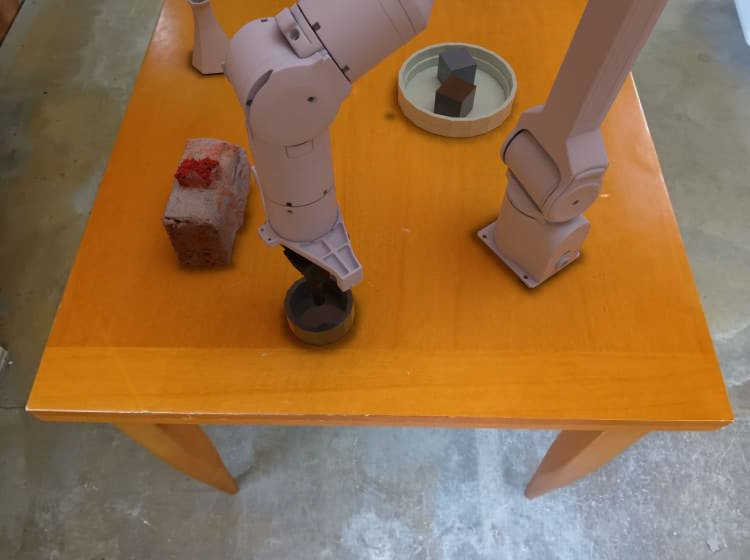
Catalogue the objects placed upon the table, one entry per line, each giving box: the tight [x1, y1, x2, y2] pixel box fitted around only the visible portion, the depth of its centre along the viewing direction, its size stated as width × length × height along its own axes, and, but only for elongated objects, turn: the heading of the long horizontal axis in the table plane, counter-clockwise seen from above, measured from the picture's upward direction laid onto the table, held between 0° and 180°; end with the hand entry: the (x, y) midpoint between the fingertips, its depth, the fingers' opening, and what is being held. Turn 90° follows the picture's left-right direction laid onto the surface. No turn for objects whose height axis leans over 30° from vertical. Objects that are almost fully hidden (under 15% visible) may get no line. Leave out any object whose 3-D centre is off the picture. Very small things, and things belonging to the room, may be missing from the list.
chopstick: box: [310, 282, 325, 306], centre depth 56 cm, size 1×1×9 cm
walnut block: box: [434, 75, 477, 118], centre depth 77 cm, size 4×4×4 cm
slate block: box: [437, 47, 477, 84], centre depth 81 cm, size 4×4×4 cm
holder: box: [283, 273, 356, 346], centre depth 61 cm, size 7×7×4 cm
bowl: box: [397, 42, 518, 138], centre depth 80 cm, size 16×16×4 cm
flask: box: [186, 0, 231, 75], centre depth 82 cm, size 7×7×10 cm
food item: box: [160, 137, 252, 266], centre depth 66 cm, size 14×8×10 cm, turn 178°
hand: (314, 273), depth 55 cm, fingers closed on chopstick, 1 cm apart
